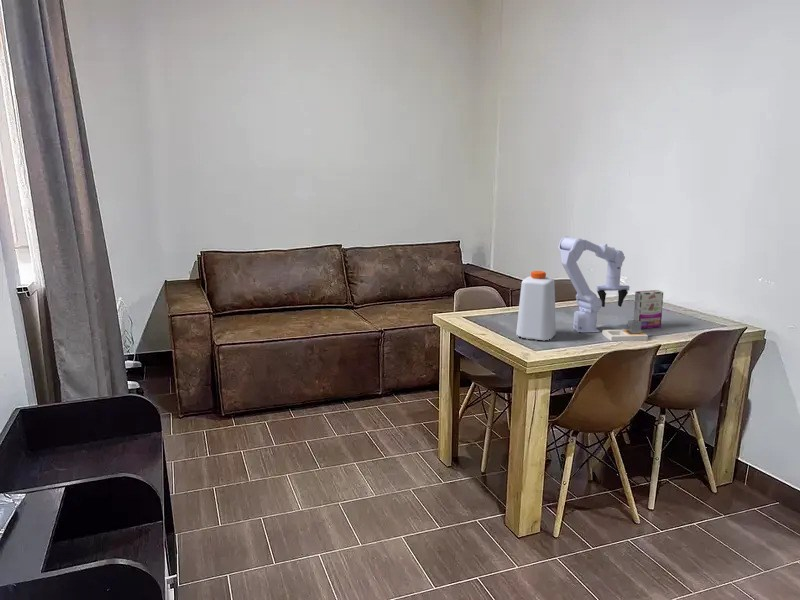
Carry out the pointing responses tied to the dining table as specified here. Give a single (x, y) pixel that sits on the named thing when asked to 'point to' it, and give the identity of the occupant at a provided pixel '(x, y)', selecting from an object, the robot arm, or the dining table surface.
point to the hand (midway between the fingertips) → (611, 306)
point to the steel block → (634, 327)
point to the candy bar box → (648, 308)
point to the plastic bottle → (537, 307)
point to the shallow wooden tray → (623, 335)
